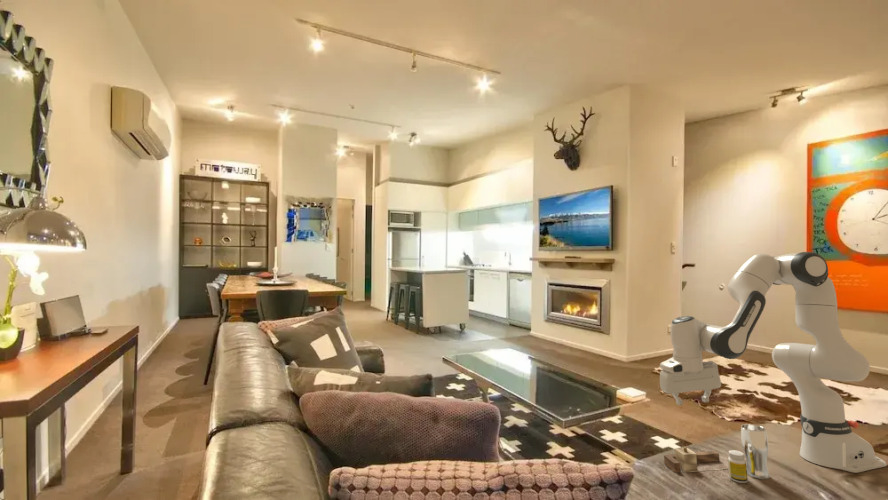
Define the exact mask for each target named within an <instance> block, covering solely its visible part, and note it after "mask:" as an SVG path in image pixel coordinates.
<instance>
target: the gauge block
mask: <svg viewBox="0 0 888 500" xmlns="http://www.w3.org/2000/svg"><path fill="white" fill-rule="evenodd" d="M674 451H675V453H674V454H676V460H677V461H678V462H680V467H681V471H683V472H688V471H698V462H697V458H696V453H694V452H695V451H693V450H691V449H690V448H688V447H686V446H683V447H682V448H681V447H680V448H674Z"/></svg>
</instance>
